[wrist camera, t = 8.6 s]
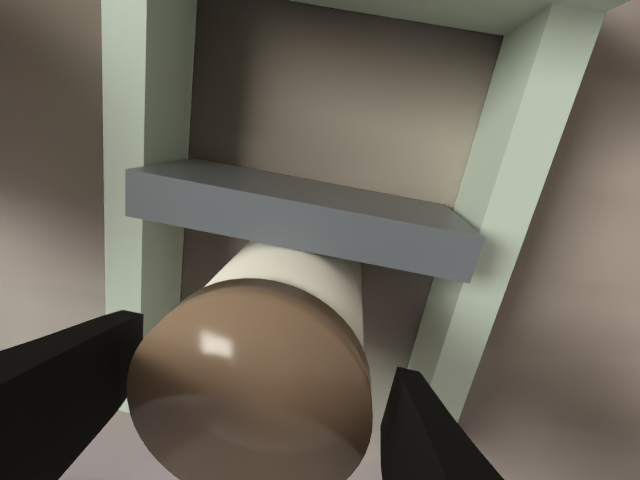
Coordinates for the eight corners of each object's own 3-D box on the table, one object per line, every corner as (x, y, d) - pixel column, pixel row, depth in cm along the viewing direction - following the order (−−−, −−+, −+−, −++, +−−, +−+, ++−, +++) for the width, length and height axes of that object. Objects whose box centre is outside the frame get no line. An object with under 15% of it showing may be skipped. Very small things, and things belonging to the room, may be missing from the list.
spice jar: (350, 333, 18) (344, 529, 9) (238, 309, 18) (125, 477, 9) (376, 223, 16) (400, 333, 7) (251, 198, 16) (127, 275, 7)
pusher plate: (435, 237, 16) (469, 283, 11) (194, 191, 16) (125, 215, 11) (444, 204, 15) (484, 237, 10) (196, 158, 16) (125, 169, 11)
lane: (422, 419, 19) (458, 577, 12) (149, 360, 19) (41, 479, 13) (558, -3, 13) (776, -152, 6) (162, -66, 14) (-25, -259, 7)
